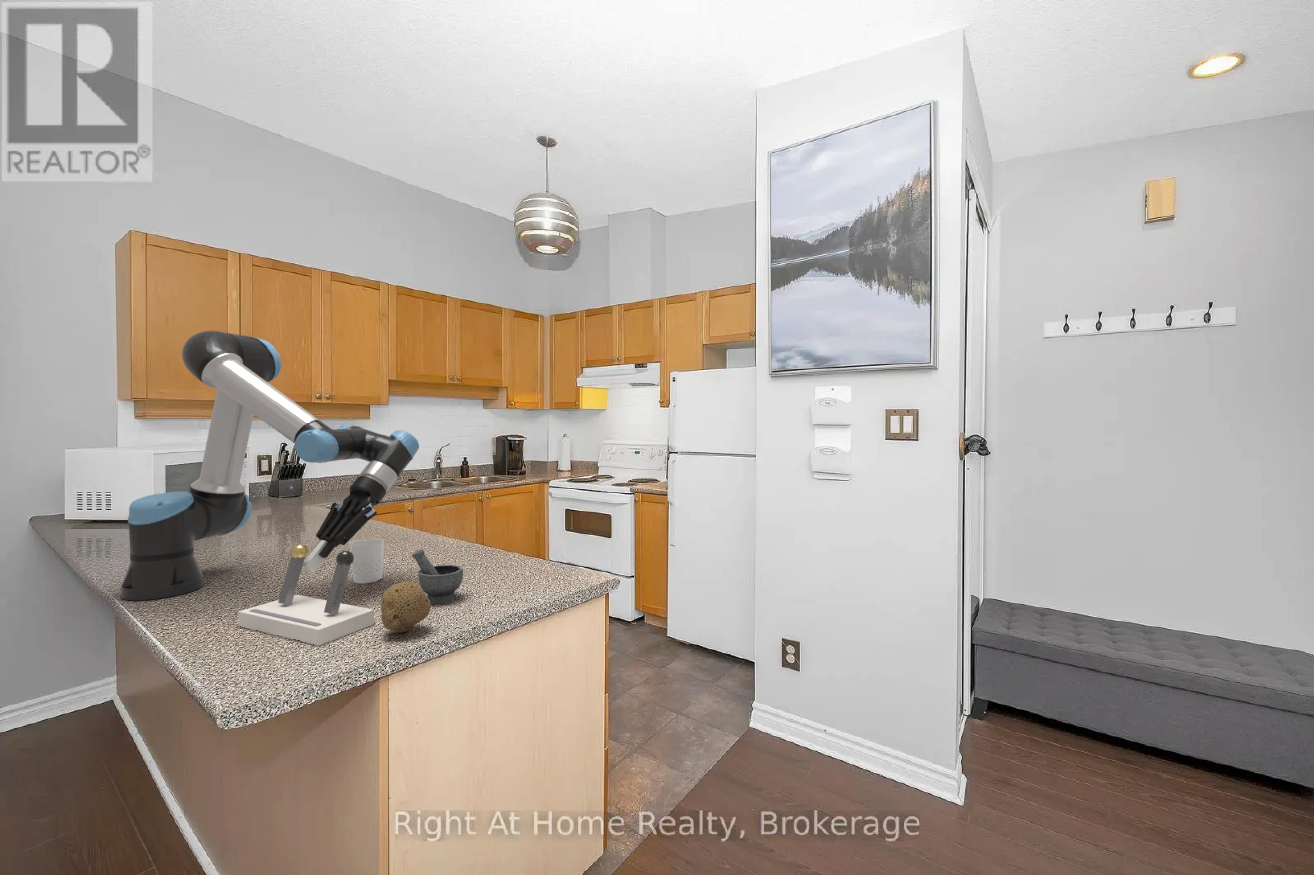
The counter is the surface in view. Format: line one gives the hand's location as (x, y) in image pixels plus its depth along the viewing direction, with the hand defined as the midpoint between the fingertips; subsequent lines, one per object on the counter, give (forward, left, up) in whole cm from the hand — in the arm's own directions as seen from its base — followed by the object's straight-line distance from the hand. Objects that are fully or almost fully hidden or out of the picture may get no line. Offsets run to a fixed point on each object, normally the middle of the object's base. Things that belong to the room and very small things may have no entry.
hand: (308, 569), depth 122 cm
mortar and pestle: (+1, +26, -10) cm, 28 cm away
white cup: (-22, +9, -10) cm, 26 cm away
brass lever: (+4, -4, -7) cm, 8 cm away
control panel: (+9, +1, -10) cm, 13 cm away
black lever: (+13, +6, -7) cm, 16 cm away
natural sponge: (+20, +20, -10) cm, 30 cm away
